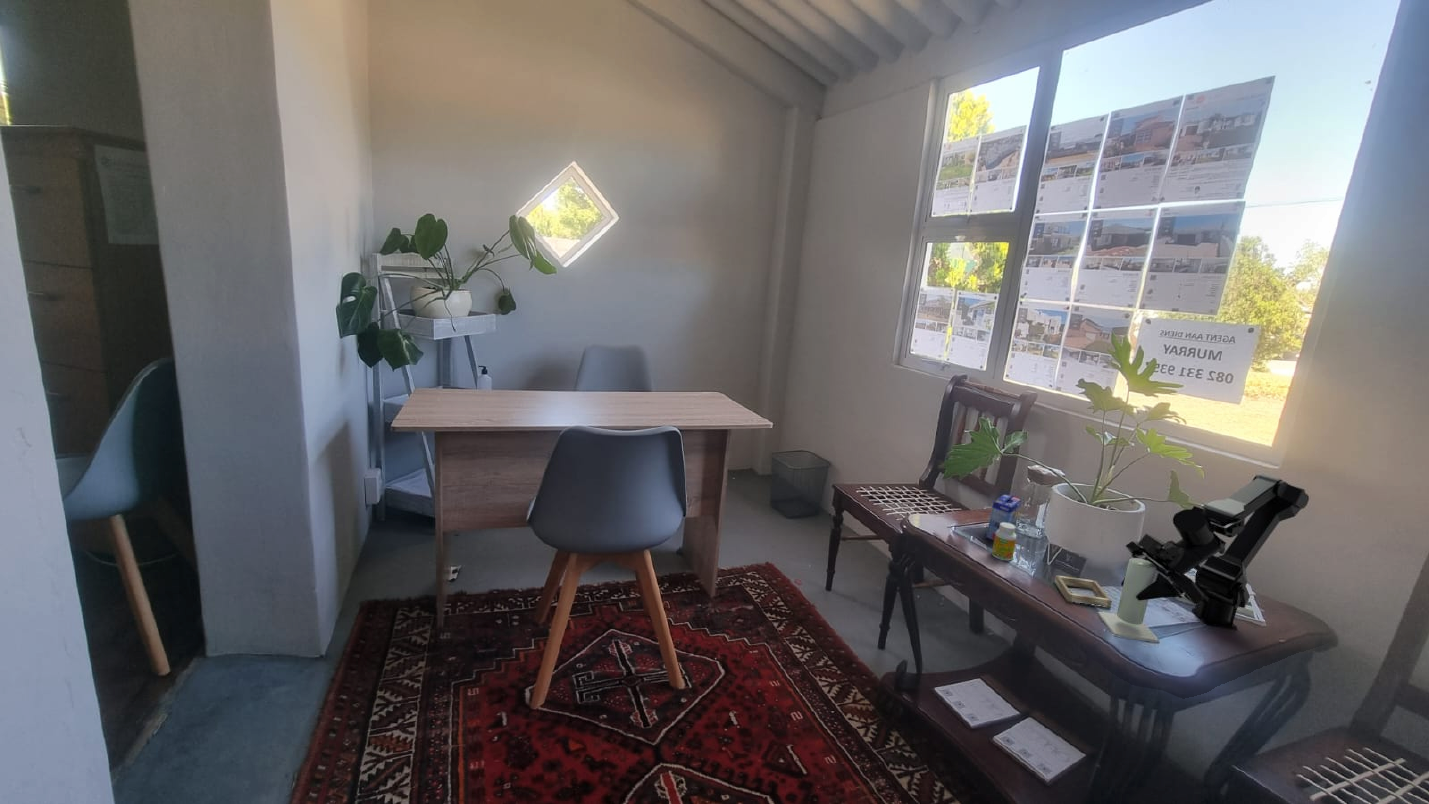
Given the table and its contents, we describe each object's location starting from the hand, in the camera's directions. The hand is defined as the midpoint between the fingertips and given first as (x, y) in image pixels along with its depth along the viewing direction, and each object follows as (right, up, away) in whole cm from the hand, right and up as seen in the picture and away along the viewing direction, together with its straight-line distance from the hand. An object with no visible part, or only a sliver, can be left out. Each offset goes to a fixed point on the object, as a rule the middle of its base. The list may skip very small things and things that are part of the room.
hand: (1129, 592), depth 133 cm
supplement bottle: (-13, -1, +34) cm, 36 cm away
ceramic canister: (+1, -7, +2) cm, 7 cm away
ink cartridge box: (-7, +2, +46) cm, 47 cm away
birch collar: (-1, -6, +15) cm, 16 cm away
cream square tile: (+1, -9, +2) cm, 9 cm away
